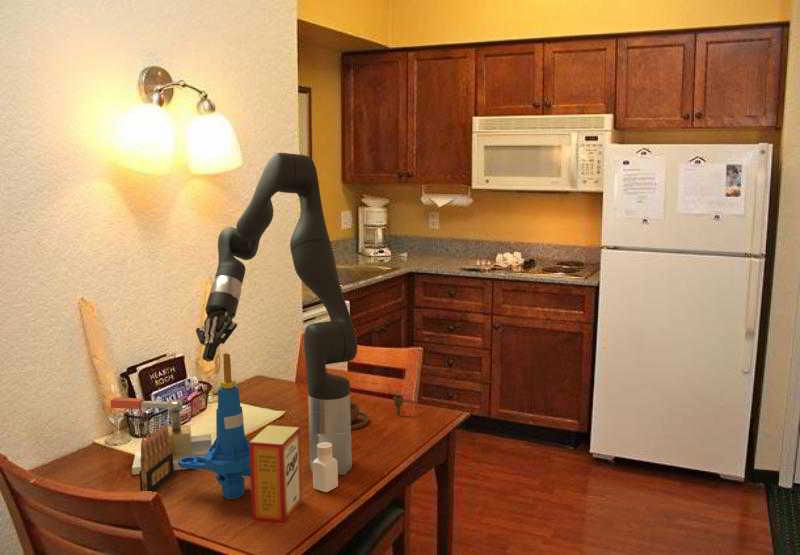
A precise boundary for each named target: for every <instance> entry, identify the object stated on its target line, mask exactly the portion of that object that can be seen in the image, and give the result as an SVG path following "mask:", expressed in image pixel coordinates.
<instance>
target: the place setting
mask: <svg viewBox="0 0 800 555" xmlns="http://www.w3.org/2000/svg"><path fill="white" fill-rule="evenodd" d="M403 403H404V396H403V395H398V394H397V395H394V396H393V404H394V405H393V406H394V407H396V411H395V412H396V417H397V416H400V417H401V407H402V406H403ZM373 412H374V413H373V414H375V412H376V411H373ZM350 413H351V434H353V430H357V429H361V428H363V427H365V426H366V425H367V424H368V422H369V419H370V418H369V416H368V414H366V413H365V412H362V411H360V406H359V405H358V404H357V403H354V402H350ZM358 416H359V417H358ZM360 417H361V418H360ZM359 418H360V419H362V418H364V419H365V420H364V419H363V420H364V421H363V422H361V423H357V424H354V422H355V421H356V420H358V419H359Z"/></svg>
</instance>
